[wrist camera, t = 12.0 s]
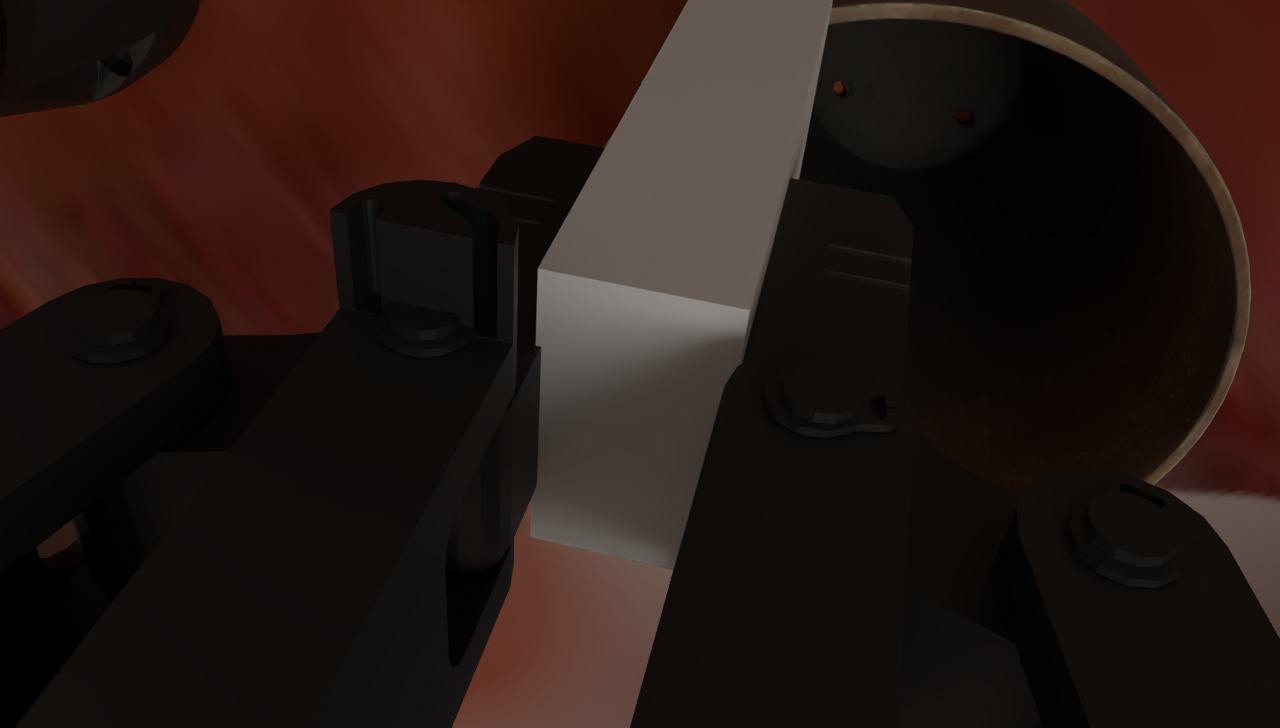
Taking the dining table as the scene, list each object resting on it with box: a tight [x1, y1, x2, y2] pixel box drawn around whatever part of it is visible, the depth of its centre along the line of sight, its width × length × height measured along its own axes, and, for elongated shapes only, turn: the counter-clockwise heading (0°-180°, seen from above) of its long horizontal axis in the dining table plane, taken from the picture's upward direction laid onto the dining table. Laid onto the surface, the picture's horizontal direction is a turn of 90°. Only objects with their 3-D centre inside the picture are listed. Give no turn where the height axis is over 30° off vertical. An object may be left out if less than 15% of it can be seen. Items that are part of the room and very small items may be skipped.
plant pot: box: [603, 0, 1251, 495], centre depth 31 cm, size 15×15×16 cm
